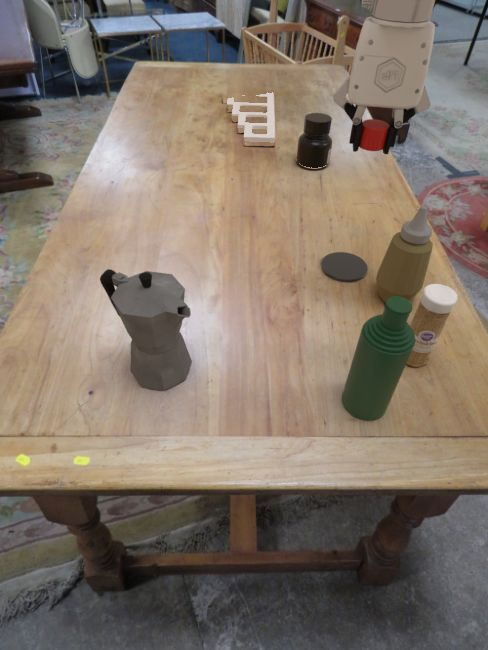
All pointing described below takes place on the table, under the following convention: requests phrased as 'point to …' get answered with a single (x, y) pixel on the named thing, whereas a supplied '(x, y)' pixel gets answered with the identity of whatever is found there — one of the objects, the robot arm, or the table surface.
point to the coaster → (344, 267)
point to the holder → (249, 126)
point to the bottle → (379, 360)
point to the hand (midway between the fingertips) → (370, 148)
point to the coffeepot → (152, 325)
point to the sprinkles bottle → (430, 321)
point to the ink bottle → (315, 141)
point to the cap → (373, 135)
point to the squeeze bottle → (406, 259)
